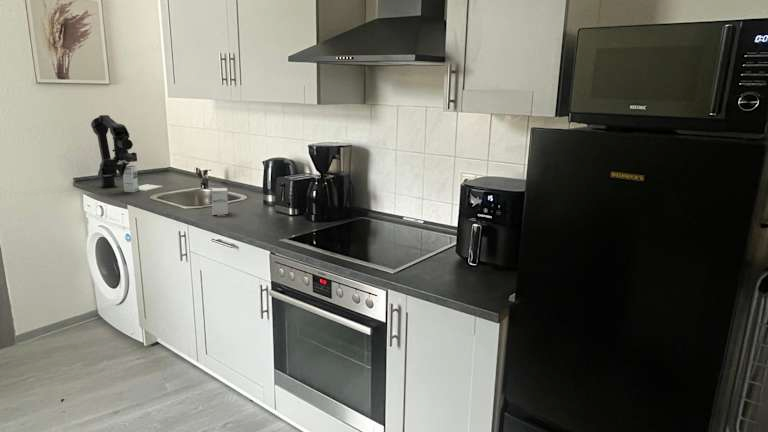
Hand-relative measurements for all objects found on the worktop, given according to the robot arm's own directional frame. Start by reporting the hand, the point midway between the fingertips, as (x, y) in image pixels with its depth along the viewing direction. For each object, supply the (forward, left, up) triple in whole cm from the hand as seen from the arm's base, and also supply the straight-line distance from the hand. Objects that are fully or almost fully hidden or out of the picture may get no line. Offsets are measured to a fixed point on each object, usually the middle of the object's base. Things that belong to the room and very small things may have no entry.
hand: (122, 175), depth 291 cm
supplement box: (+76, -17, -10) cm, 78 cm away
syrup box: (0, +6, -10) cm, 12 cm away
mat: (0, +17, -10) cm, 20 cm away
